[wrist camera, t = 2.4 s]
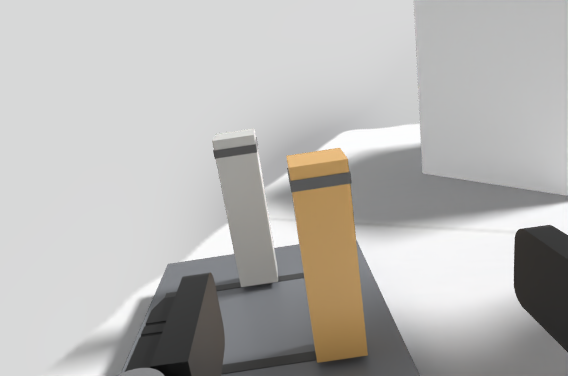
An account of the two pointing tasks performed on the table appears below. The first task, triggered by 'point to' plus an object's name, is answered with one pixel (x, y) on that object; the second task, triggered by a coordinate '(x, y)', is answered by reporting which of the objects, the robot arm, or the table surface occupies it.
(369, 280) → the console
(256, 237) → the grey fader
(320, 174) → the amber fader
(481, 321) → the table surface
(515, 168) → the cube
